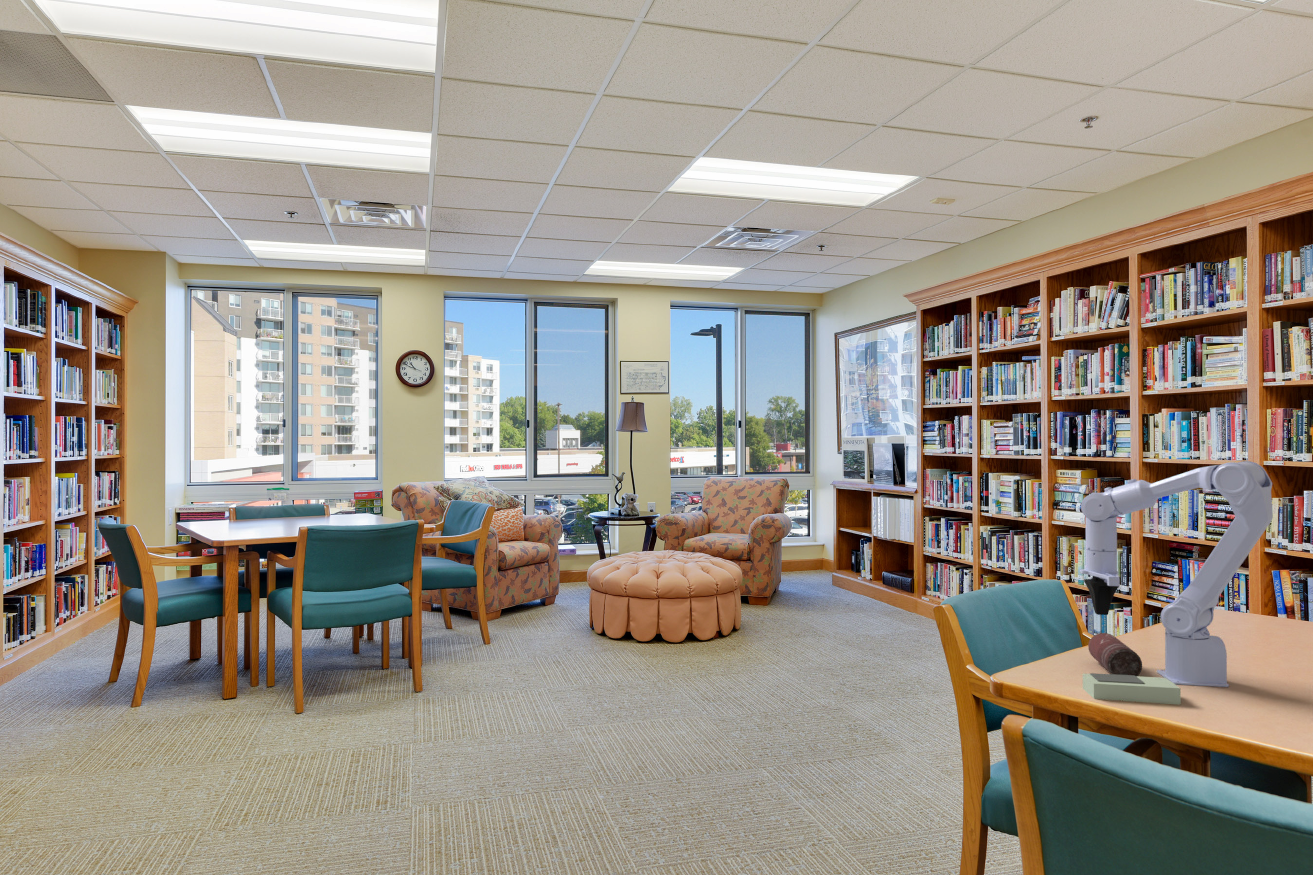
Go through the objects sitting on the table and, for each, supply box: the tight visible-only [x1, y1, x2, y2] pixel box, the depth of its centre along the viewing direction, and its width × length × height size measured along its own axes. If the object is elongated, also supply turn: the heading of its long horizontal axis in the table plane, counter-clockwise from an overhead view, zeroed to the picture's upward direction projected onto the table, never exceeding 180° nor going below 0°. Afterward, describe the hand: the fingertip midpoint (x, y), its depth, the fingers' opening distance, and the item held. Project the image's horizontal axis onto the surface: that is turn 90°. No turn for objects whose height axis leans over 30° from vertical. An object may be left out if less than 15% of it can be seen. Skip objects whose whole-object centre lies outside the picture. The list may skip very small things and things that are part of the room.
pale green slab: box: [1082, 672, 1182, 705], centre depth 142 cm, size 14×6×3 cm, turn 78°
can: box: [1087, 632, 1143, 676], centre depth 158 cm, size 6×6×14 cm
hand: (1101, 614), depth 164 cm, fingers closed
